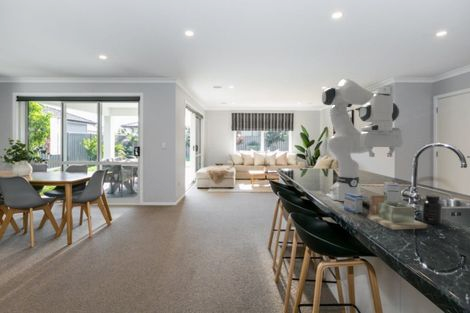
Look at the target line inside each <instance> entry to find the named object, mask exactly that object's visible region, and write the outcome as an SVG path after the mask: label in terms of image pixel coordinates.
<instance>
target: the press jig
mask: <svg viewBox="0 0 470 313" xmlns="http://www.w3.org/2000/svg"><path fill="white" fill-rule="evenodd" d="M415 212H416V207H415V206H412V205H409V204H405V203H402V202H400V201H399V202H385V203H379V213H378V215H369V214H367V216H366V217H367V219H368V220H369V221H370V220H371V221H372V222H375V223H377V224H378V225H381V226H383V227H386V228H388V229H390V230H391V231H392V230H393V231H395V230H396V231H397V230H412V229H415V230H417V229H428V223H425V222H423V221H418V220H416V219H415V215H416V214H415Z"/></svg>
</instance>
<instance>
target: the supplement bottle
mask: <svg viewBox="0 0 470 313" xmlns="http://www.w3.org/2000/svg"><path fill="white" fill-rule="evenodd" d="M442 213H443V204H442V203H441V202H440V196H439V195H437V194H426V195H425V200H424V201H423V202H422V218H421V219H422V223H425V224H427V225H437V224H438V225H441V224H442V219H443V218H442V217H443V216H442V215H443V214H442Z"/></svg>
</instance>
